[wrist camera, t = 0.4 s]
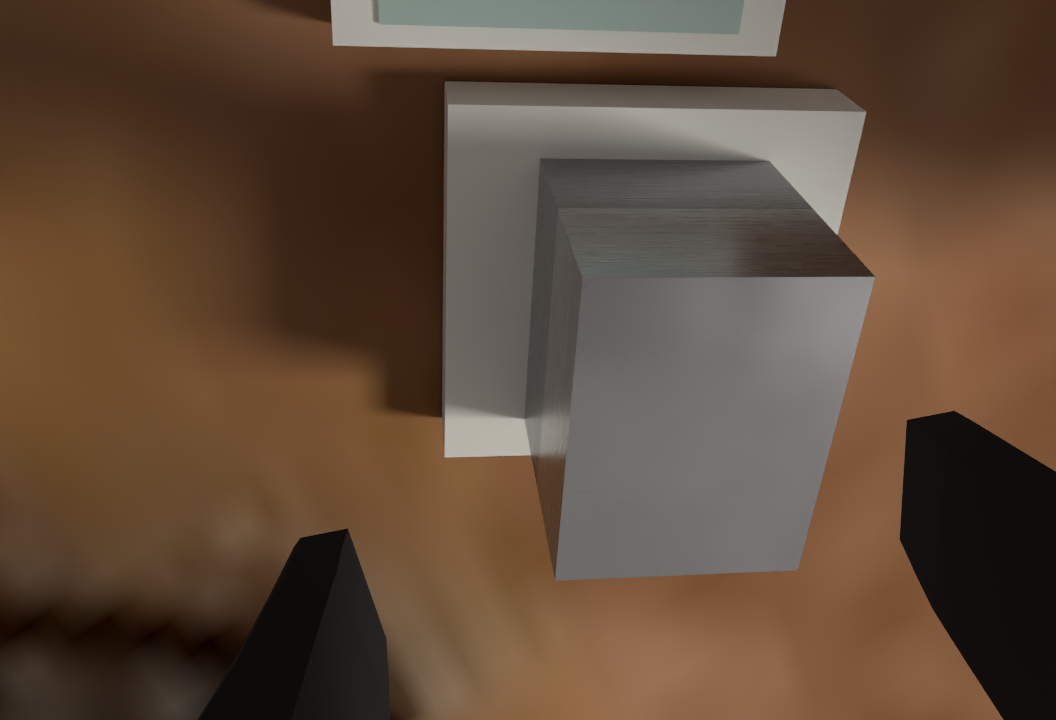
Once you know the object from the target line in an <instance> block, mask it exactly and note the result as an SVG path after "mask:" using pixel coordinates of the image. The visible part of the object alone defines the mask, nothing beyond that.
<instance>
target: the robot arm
mask: <svg viewBox="0 0 1056 720" xmlns="http://www.w3.org/2000/svg"><path fill="white" fill-rule="evenodd" d="M900 541H901V543H902V545H903V547H904V549H905V552H906V554H907V556H908V558H909V560H910V563H911V565H912V567H913V569H914V571H915V573H916V576H917V578H918V580H919V582H920V584H921V586H922V588H923V590H924V592H925V594H926V596H927V598H928V600H929V602H930V604H931V606H932V608H933V610H934V612H935V613H936V615H937V617H938V618H939V620H940V621H941V623H942V625H943V626H944V628H945V629H946V631H947V632H948V634H949V636H950V637H951V639H952V640H953V642H954V643H955V645H956V647H957V648H958V650H959V651H960V653H961V654H962V656H963V658H964V659H965V661H966V662H967V664H968V665H969V667H970V669H971V670H972V672H973V673H974V675H975V676H976V678H977V679H978V681H979V682H980V684H981V685H982V687H983V689H984V690H985V692H986V693H987V695H988V696H989V698H990V699H991V701H992V702H993V704H994V706H995V707H996V709H997V710H998V712H999V713H1000V715H1001V716H1002V718H1003V719H1004V720H1056V472H1055V471H1054V470H1052V469H1050V468H1049V467H1047V466H1045V465H1044V464H1042V463H1040V462H1039V461H1037V460H1035V459H1034V458H1032V457H1030V456H1029V455H1027V454H1026V453H1024V452H1022V451H1021V450H1019V449H1017V448H1016V447H1014V446H1012V445H1011V444H1009V443H1008V442H1006V441H1004V440H1003V439H1001V438H999V437H998V436H996V435H994V434H993V433H991V432H990V431H988V430H986V429H985V428H983V427H981V426H980V425H978V424H976V423H975V422H973V421H971V420H969V419H968V418H966V417H964V416H963V415H961V414H959V413H957V412H955V411H951V412H946V413H941V414H936V415H931V416H926V417H920V418H915V419H910V420H907V428H906V445H905V462H904V478H903V495H902V512H901V528H900ZM198 720H390V703H389V678H388V660H387V642H386V637H385V634H384V631H383V628H382V625H381V622H380V620H379V617H378V614H377V611H376V608H375V605H374V602H373V600H372V597H371V594H370V591H369V588H368V585H367V582H366V580H365V577H364V574H363V571H362V568H361V565H360V562H359V559H358V557H357V554H356V551H355V548H354V545H353V542H352V539H351V537H350V534H349V531H348V529H344V530H339V531H334V532H328V533H323V534H318V535H313V536H308V537H303V538H300V539H299V541H298V542H297V543H296V545H295V546H294V548H293V550H292V552H291V554H290V556H289V558H288V560H287V562H286V564H285V566H284V568H283V570H282V572H281V574H280V576H279V578H278V580H277V582H276V584H275V586H274V588H273V590H272V592H271V594H270V596H269V597H268V599H267V601H266V603H265V605H264V607H263V609H262V611H261V613H260V614H259V616H258V618H257V620H256V622H255V624H254V626H253V628H252V629H251V631H250V633H249V635H248V636H247V638H246V640H245V642H244V643H243V645H242V647H241V649H240V650H239V652H238V654H237V656H236V658H235V659H234V661H233V663H232V665H231V666H230V668H229V670H228V672H227V673H226V675H225V677H224V678H223V680H222V682H221V683H220V685H219V687H218V688H217V690H216V691H215V693H214V695H213V696H212V698H211V699H210V701H209V702H208V704H207V706H206V707H205V709H204V710H203V712H202V713H201V715H200V717H199V718H198Z"/></svg>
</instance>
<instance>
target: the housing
mask: <svg viewBox="0 0 1056 720" xmlns="http://www.w3.org/2000/svg"><path fill="white" fill-rule="evenodd" d="M874 280H875V276H874V275H873V274H872V273H871V272H870V270H869V269H868V268H867V267H866V266H865V265H864V264H863V263H862V262H861V261H860V260H859V258H858V257H857V256H856V255H855V254H854V253H853V252H852V251H851V250H850V249H849V248H848V246H847V245H846V244H845V243H844V242H843V241H842V240H841V239H840V238H839V237H838V235H837V234H836V233H835V232H834V231H833V230H832V229H831V228H830V227H829V226H828V225H827V223H826V222H825V221H824V220H823V219H822V218H821V217H820V216H819V215H818V214H817V213H816V211H815V210H814V209H813V208H812V207H811V206H810V205H809V204H808V203H807V202H806V201H805V199H804V198H803V197H802V196H801V195H800V194H799V193H798V192H797V191H796V190H795V188H794V187H793V186H792V185H791V184H790V183H789V182H788V181H787V180H786V179H785V178H784V176H783V175H782V174H781V173H780V172H779V171H778V170H777V169H776V168H775V167H774V166H773V164H772V163H771V162H770V161H728V160H637V159H546V158H540V171H539V187H538V203H537V220H536V236H535V252H534V269H533V285H532V302H531V318H530V334H529V351H528V367H527V383H526V400H525V416H524V420H525V425H526V431H527V436H528V441H529V446H530V452H531V457H532V462H533V467H534V473H535V478H536V483H537V488H538V494H539V499H540V504H541V509H542V515H543V520H544V525H545V530H546V536H547V541H548V546H549V551H550V557H551V562H552V567H553V572H554V578H555V581H556V580H579V579H603V578H626V577H649V576H673V575H696V574H720V573H743V572H766V571H790V570H798V567H799V564H800V560H801V556H802V552H803V548H804V545H805V541H806V537H807V533H808V529H809V526H810V522H811V518H812V514H813V511H814V507H815V503H816V499H817V495H818V492H819V488H820V484H821V480H822V476H823V473H824V469H825V465H826V461H827V458H828V454H829V450H830V446H831V442H832V439H833V435H834V431H835V427H836V423H837V420H838V416H839V412H840V408H841V405H842V401H843V397H844V393H845V389H846V386H847V382H848V378H849V374H850V371H851V367H852V363H853V359H854V355H855V352H856V348H857V344H858V340H859V336H860V333H861V329H862V325H863V321H864V318H865V314H866V310H867V306H868V302H869V299H870V295H871V291H872V287H873V283H874Z"/></svg>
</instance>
